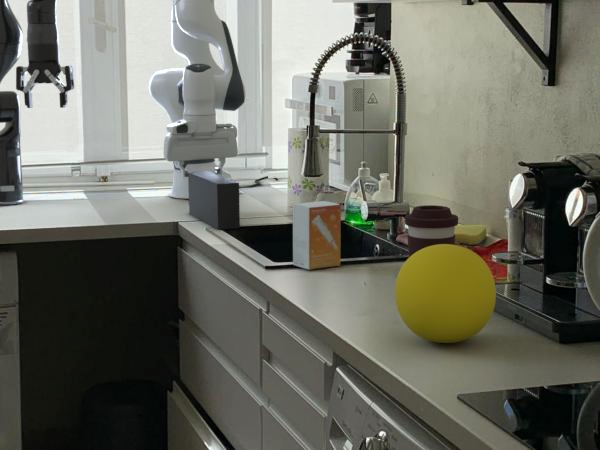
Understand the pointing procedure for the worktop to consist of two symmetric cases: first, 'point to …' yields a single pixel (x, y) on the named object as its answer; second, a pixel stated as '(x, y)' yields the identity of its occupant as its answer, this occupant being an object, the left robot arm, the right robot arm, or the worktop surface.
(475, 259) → the toy
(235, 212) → the box
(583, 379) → the worktop surface
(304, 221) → the small box
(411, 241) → the coffee cup
